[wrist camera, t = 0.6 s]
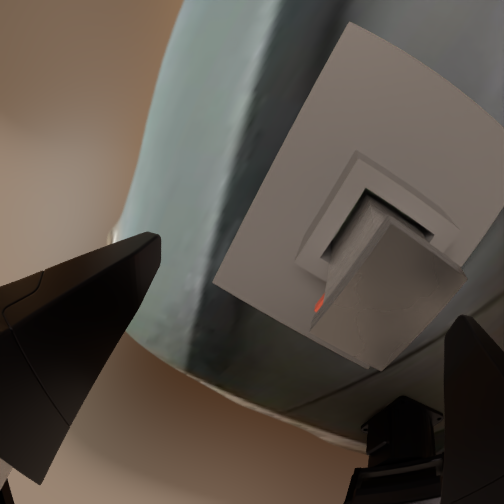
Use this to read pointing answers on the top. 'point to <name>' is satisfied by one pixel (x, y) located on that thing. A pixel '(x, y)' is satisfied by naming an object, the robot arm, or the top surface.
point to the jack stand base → (365, 175)
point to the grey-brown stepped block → (382, 283)
